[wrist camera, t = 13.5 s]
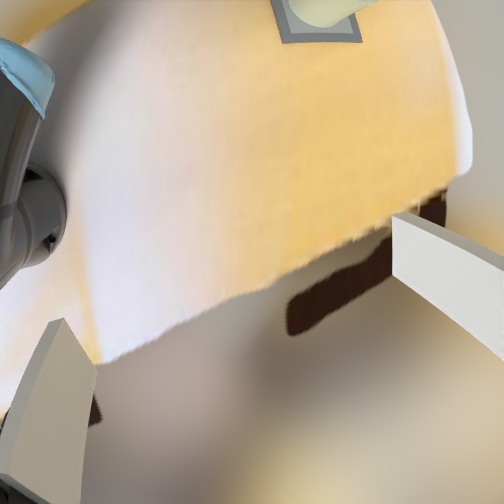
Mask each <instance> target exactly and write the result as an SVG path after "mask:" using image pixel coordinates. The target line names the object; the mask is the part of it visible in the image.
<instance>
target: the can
mask: <svg viewBox="0 0 504 504" xmlns="http://www.w3.org/2000/svg"><path fill="white" fill-rule="evenodd" d="M378 1H379V0H288V3H289V6H290V8H291V10H292V11H293V12H294V14H295V15H296V16H297V17H298V18H300V19H301V20H302V21H304V22H305V23H307V24H309V25H312V26H315V27H321V28H326V27H331V26H334V25H335V24H337V23H338V22H339V21H340V20H342V19H344V18H345V17H347V16H349V15H351V14H353V13H355V12H356V11H358V10H360V9H362V8H364V7H366V6H369V5H371V4H374V3H376V2H378Z"/></svg>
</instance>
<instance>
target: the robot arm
mask: <svg viewBox="0 0 504 504" xmlns="http://www.w3.org/2000/svg"><path fill="white" fill-rule="evenodd" d="M54 86H55V76H54V72H53V71H52V69H51V68H50V66H49V65H48V64H47V63H46V62H45V61H43V60H42V59H41V58H39V57H38V56H37V55H35V54H34V53H32V52H30V51H29V50H27V49H25V48H24V47H22V46H20V45H18V44H16V43H14V42H12V41H9V40H6V39H4V38H0V290H1V289H2V288H3V287H4V286H5V285H6V284H7V282H8V281H9V280H10V279H11V278H12V277H13V276H14V275H15V274H16V273H17V272H18V271H19V269H22V268H27V267H31V266H35V265H37V264H39V263H41V262H43V261H44V260H46V259H47V258H48V257H49V256H50V255H51V254H52V253H53V252H54V251H55V249H56V248H57V247H58V245H59V244H60V242H61V239H62V237H63V234H64V231H65V225H66V208H65V202H64V198H63V195H62V193H61V190H60V188H59V186H58V184H57V183H56V181H55V180H54V179H53V177H52V176H51V175H50V174H49V173H48V172H47V171H45V170H44V169H43V168H41V167H39V166H37V165H34V164H29V163H28V161H29V157H30V154H31V151H32V148H33V145H34V142H35V139H36V136H37V133H38V130H39V127H40V125H41V122H42V121H44V118H45V110H46V107H47V104H48V102H49V99H50V96H51V94H52V91H53V89H54ZM392 237H393V272H392V275H393V276H395V277H396V278H398V279H399V280H401V281H402V282H403V283H405V284H406V285H407V286H409V287H410V288H411V289H413V290H414V291H416V292H417V293H418V294H420V295H421V296H423V297H424V298H425V299H426V300H428V301H429V302H431V303H432V304H433V305H435V306H436V307H437V308H439V309H440V310H441V311H442V312H444V313H445V314H446V315H448V316H449V317H450V318H451V319H453V320H454V321H455V322H457V323H458V324H459V325H460V326H462V327H463V328H464V329H465V330H467V331H468V332H469V333H471V334H472V335H473V336H474V337H476V338H477V339H478V340H479V341H480V342H482V343H483V344H484V345H485V346H487V347H488V348H489V349H490V350H491V351H493V352H494V353H495V354H496V355H497V356H498V357H500V358H501V359H502V360H503V361H504V257H503V256H501V255H499V254H497V253H495V252H493V251H491V250H489V249H487V248H485V247H483V246H481V245H479V244H477V243H475V242H473V241H471V240H469V239H467V238H465V237H463V236H461V235H459V234H456V233H454V232H452V231H450V230H448V229H445V228H443V227H441V226H439V225H436V224H434V223H432V222H430V221H427V220H425V219H423V218H420V217H418V216H415V215H413V214H411V213H408V212H406V211H405V212H402V213H399V214H396V215H392ZM97 373H98V371H97V369H96V368H95V366H94V365H93V363H92V362H91V360H90V359H89V358H88V356H87V354H86V353H85V351H84V350H83V348H82V347H81V345H80V344H79V342H78V340H77V339H76V337H75V336H74V334H73V332H72V331H71V329H70V327H69V326H68V324H67V322H66V320H65V319H64V318H61V319H58V320H55V321H51V322H49V323H48V325H47V327H46V329H45V331H44V333H43V335H42V337H41V339H40V341H39V343H38V345H37V347H36V349H35V351H34V353H33V355H32V357H31V359H30V361H29V364H28V366H27V368H26V370H25V372H24V375H23V377H22V379H21V382H20V384H19V386H18V389H17V391H16V394H15V396H14V399H13V401H12V404H11V407H10V408H9V410H8V411H7V413H6V414H5V417H4V420H3V423H2V429H0V504H80V495H81V481H82V480H81V479H82V468H83V458H84V449H85V442H86V434H87V427H88V421H89V415H90V409H91V403H92V397H93V392H94V387H95V382H96V377H97Z"/></svg>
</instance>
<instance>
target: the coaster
mask: <svg viewBox="0 0 504 504" xmlns="http://www.w3.org/2000/svg"><path fill="white" fill-rule="evenodd" d="M270 1H271V5H272V8H273V11H274V15H275V18H276V22H277V25H278V29H279V33H280V36H281V40H282V44H286V43H305V42H353V43H362V42H363V41H362V37H361V34H360V30H359V27H358V24H357V20H356V17H355V14H354V13H353V14H351V15H349V16H347V17H345V18H344V19H342V20H340V21H339V22H338V23H337V24H335V25H334V26H331V27H326V28H321V27H315V26H312V25H309V24H307V23H305V22H304V21H302V20H301V19H300V18H298V17H297V16H296V15H295V14H294V12H293V11H292V10H291V8H290V6H289V3H288V0H270Z"/></svg>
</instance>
